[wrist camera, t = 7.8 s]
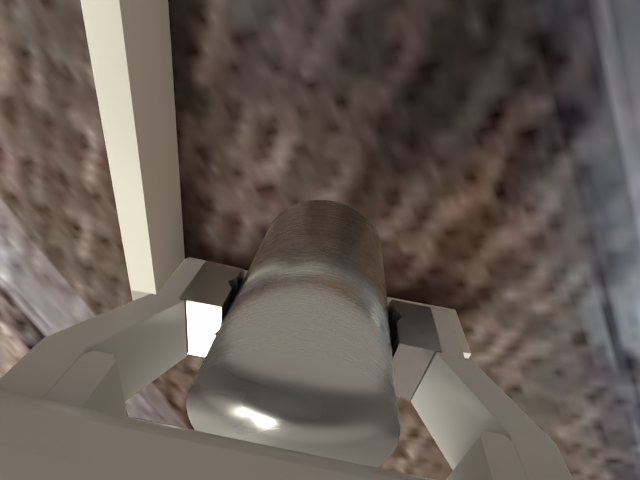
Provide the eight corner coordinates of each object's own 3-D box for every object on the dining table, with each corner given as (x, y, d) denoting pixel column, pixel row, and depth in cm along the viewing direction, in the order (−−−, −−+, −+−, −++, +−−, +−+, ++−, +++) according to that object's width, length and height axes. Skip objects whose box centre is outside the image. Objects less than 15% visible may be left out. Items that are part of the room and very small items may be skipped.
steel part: (397, 214, 10) (432, 382, 5) (366, 309, 13) (369, 497, 7) (270, 188, 10) (181, 331, 5) (259, 287, 13) (189, 460, 7)
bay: (719, -243, 9) (874, -366, 6) (447, 325, 19) (461, 370, 16) (100, -347, 9) (-8, -509, 6) (164, 272, 19) (134, 308, 16)
